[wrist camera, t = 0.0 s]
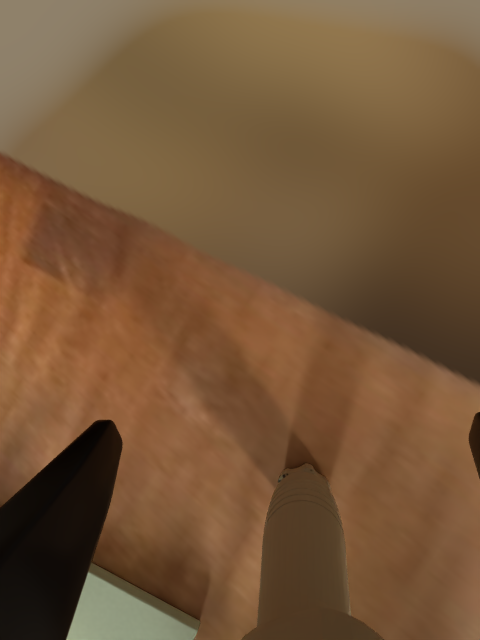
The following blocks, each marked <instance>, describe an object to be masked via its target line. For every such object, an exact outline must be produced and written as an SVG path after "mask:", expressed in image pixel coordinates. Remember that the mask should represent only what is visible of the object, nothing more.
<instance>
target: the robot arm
mask: <svg viewBox="0 0 480 640" xmlns="http://www.w3.org/2000/svg"><path fill="white" fill-rule="evenodd" d="M469 444H470V448H471V451H472V455H473V458H474V462H475V465H476V468H477V472H478V475H479V479H480V412H478V413H476V414H475V416H474V419H473V423H472V426H471V429H470V433H469ZM122 445H123V444H122V438H121V436H120V434H119V432H118V430H117V428H116V426H115V423H114V422H113V421H112V420H97V421H95V422H94V423H93V424H92V425H91V426H90V427H89V428H87V429H86V430H85V431H84V432H83V433H82V434H81V435H80V436H79V437H78V438H76V439H75V440H74V441H73V442H72V443H71V444H70V445H69V446H68V447H67V448H65V449H64V450H63V451H62V452H61V453H60V454H59V455H58V456H57V457H56V458H54V459H53V460H52V461H51V462H50V463H49V464H48V465H47V466H46V467H45V468H43V469H42V470H41V471H40V472H39V473H38V474H37V475H36V476H35V477H34V478H32V479H31V480H30V481H29V482H28V483H27V484H26V485H25V486H24V487H23V488H21V489H20V490H19V491H18V492H17V493H16V494H15V495H14V496H13V497H12V498H10V499H9V500H8V501H7V502H6V503H5V504H4V505H3V506H2V507H1V508H0V640H66V639H67V636H68V633H69V630H70V627H71V624H72V621H73V618H74V615H75V612H76V608H77V605H78V602H79V599H80V596H81V593H82V590H83V587H84V584H85V581H86V578H87V574H88V571H89V568H90V565H91V562H92V559H93V556H94V553H95V550H96V547H97V543H98V540H99V537H100V534H101V531H102V528H103V525H104V522H105V519H106V516H107V513H108V509H109V506H110V502H111V498H112V494H113V489H114V485H115V480H116V475H117V470H118V466H119V461H120V456H121V452H122Z"/></svg>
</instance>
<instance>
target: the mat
mask: <svg viewBox="0 0 480 640" xmlns="http://www.w3.org/2000/svg"><path fill="white" fill-rule="evenodd" d="M199 625H200V621H199V620H197V619H195V618H193V617H191V616H190V615H188V614H186V613H184V612H182V611H180V610H178V609H177V608H175V607H173V606H171V605H169V604H167V603H165V602H164V601H162V600H160V599H158V598H156V597H154V596H153V595H151V594H149V593H147V592H145V591H143V590H141V589H140V588H138V587H136V586H134V585H132V584H130V583H128V582H127V581H125V580H123V579H121V578H119V577H117V576H115V575H114V574H112V573H110V572H108V571H106V570H104V569H102V568H101V567H99V566H97V565H95V564H93V563H91V565H90V568H89V571H88V574H87V578H86V581H85V584H84V587H83V590H82V593H81V596H80V599H79V602H78V605H77V608H76V612H75V615H74V618H73V621H72V624H71V627H70V630H69V633H68V636H67V639H66V640H194V638H195V636H196V634H197V631H198V628H199Z"/></svg>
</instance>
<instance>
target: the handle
mask: <svg viewBox="0 0 480 640" xmlns="http://www.w3.org/2000/svg"><path fill="white" fill-rule="evenodd" d="M278 483H279V484H278V486H277V488H276V489H275V491H274V494H273V496H272V499H271V502H270V505H269V509H268V512H267V517H266V522H265V528H264V534H263V544H262V561H261V578H260V593H259V606H258V619H257V627H256V628H254V629H253V630H252V631H251V632H249V633H248V634H247V635H245V636H244V637H243V638H242V640H384V639H383V638H382V637H381V636H380V635H379V634H377V633H376V632H375V631H374V630H372V629H371V628H370V627H368V626H367V625H366V624H364V623H363V622H361V621H359V620H358V619H356V618H354V617H352V616H351V609H350V599H349V587H348V574H347V561H346V547H345V539H344V533H343V527H342V522H341V517H340V514H339V511H338V508H337V505H336V502H335V499H334V497H333V495H332V493H331V488H330V485H329V482H328V480H327V478H326V477H325V476H322V475H320V474H319V473H317V472H316V471H315V470H314V468H313V466H312V465H311V464H307V463H305V464H304V465H302V466H301V467H298V468H295V469H289V468H286V469H285V470H284V471H283V472H282V474H281V475H280V477H279V480H278Z"/></svg>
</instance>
